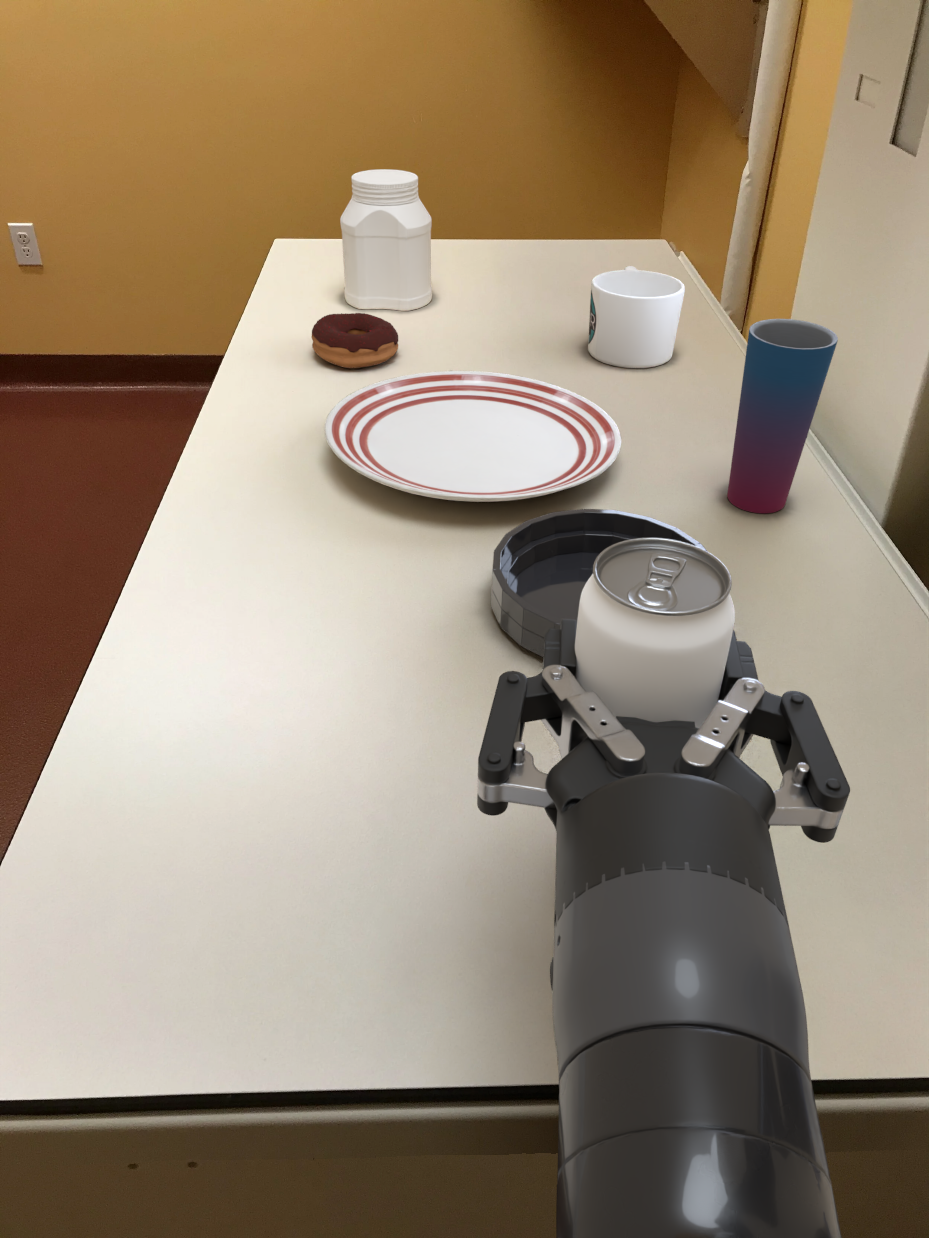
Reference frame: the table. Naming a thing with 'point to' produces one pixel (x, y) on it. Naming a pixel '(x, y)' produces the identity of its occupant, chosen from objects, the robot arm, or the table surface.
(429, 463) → the dinner plate
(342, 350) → the donut
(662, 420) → the table surface
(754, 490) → the cup
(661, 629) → the can
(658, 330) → the mug
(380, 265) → the jar
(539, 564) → the pan
